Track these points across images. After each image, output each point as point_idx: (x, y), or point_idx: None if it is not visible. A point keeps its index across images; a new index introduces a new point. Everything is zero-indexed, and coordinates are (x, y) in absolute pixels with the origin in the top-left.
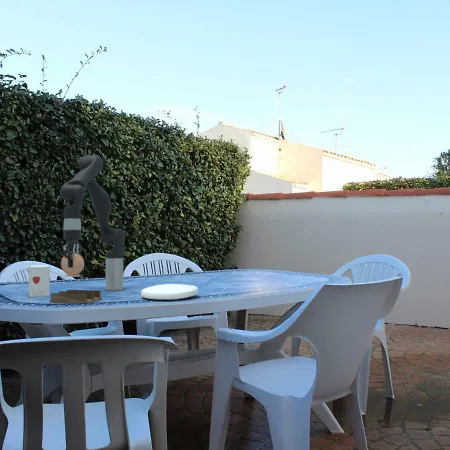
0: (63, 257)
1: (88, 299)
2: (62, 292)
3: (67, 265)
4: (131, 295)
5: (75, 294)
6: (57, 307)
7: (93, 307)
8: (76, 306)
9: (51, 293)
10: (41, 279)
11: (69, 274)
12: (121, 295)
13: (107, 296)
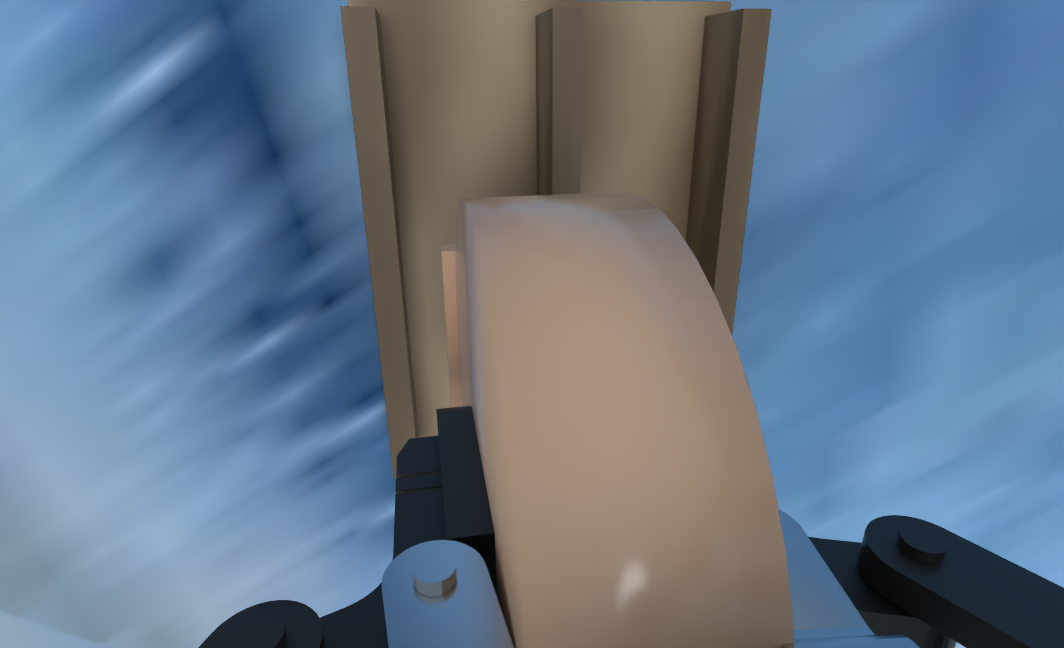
0: (495, 380)
1: None
2: (550, 69)
3: (472, 390)
4: (929, 491)
5: (382, 369)
6: (90, 311)
7: (240, 587)
8: (230, 439)
9: (342, 20)
10: None
11: (458, 347)
12: (934, 421)
13: (876, 345)
